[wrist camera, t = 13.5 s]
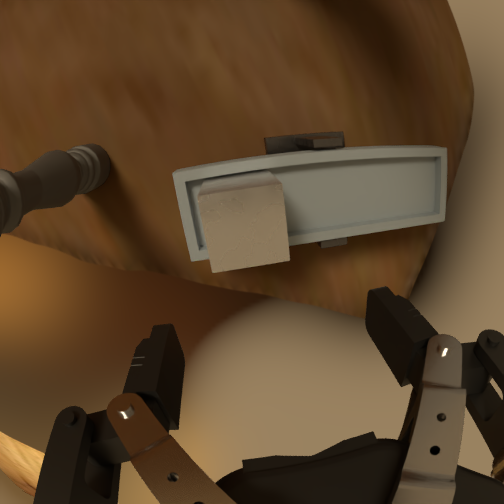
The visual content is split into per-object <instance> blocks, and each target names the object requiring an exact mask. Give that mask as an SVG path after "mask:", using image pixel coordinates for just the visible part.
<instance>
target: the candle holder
mask: <svg viewBox="0 0 504 504" xmlns="http://www.w3.org/2000/svg"><path fill="white" fill-rule="evenodd" d="M109 172H110V159H109V157H108V154H107V152H106V151H105V150H104V149H103V148H102V147H101V146H99V145H96V144H87V145H81V146H76V147H73V148H71V149H70V150H68V151H66V152H64V151H61V150H55V151H51V152H47V153H45V154H44V155H42V156H41V157H40V158H38V159H37V160H35V161H34V162H33V163H31V164H30V165H29V166H27V167H26V168H25V169H23V170H22V171H18V172H15V173H12V172H10V171H7V170H5V169H0V236H1V234H2V233H10V232H12V231H13V230H14V229H15V228H16V227H17V226H19V224H20V222H21V220H22V218H23V215H25V214H27V213H28V212H30V211H32V210H36V209H45V208H55V207H62V206H64V205H65V204H67V203H68V202H70V201H71V200H72V199H73V198H74V196H75V195H78V194H85V193H88V192H90V191H92V190H94V189H96V188H97V187H99V186H100V185H102V184H103V183H104V182H105V180H106V179H107V178H108V175H109Z"/></svg>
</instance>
